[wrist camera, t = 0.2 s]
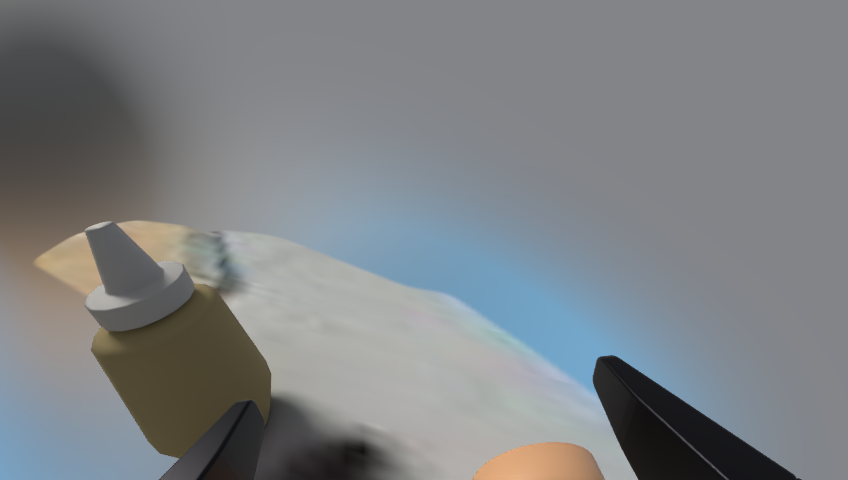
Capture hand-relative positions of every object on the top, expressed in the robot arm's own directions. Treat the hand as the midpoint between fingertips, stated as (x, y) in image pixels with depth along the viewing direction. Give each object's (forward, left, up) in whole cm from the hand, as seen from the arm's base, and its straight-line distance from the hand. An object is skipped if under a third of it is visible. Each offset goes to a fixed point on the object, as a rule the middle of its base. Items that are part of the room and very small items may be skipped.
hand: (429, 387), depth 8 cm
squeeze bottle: (+11, +16, -17) cm, 26 cm away
